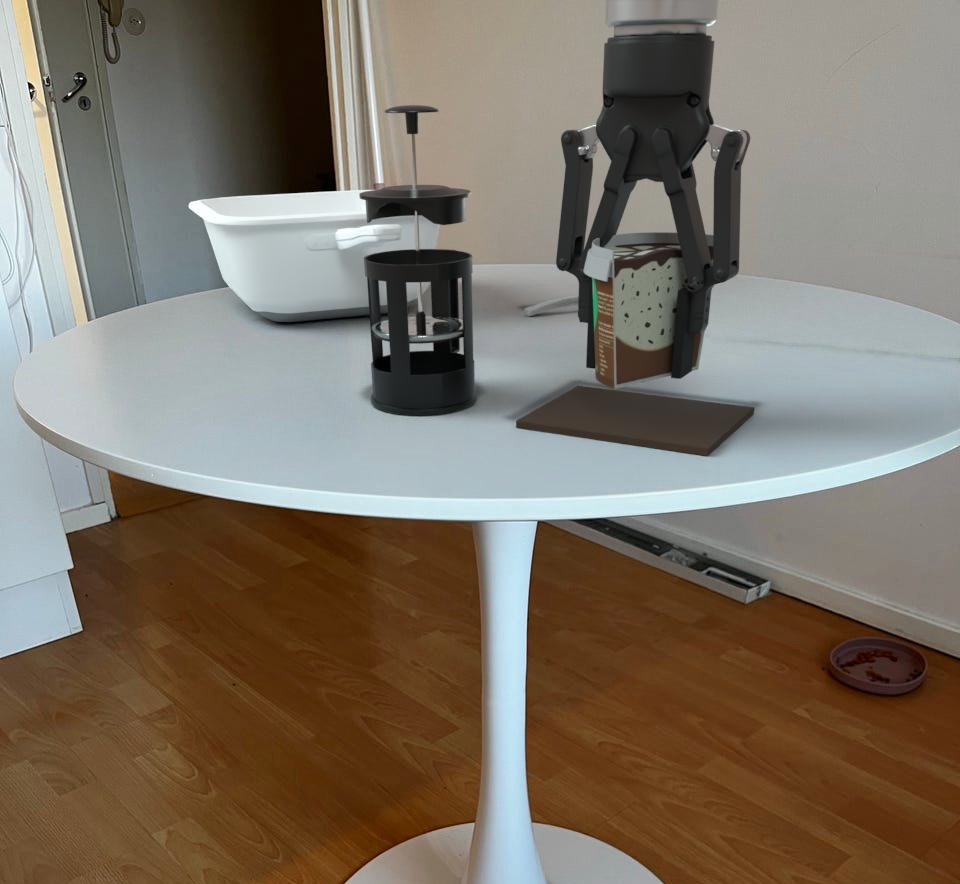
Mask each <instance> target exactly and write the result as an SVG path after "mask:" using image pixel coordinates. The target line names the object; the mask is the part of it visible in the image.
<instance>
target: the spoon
mask: <svg viewBox="0 0 960 884" xmlns="http://www.w3.org/2000/svg"><path fill="white" fill-rule="evenodd" d="M578 297H579V295H572V296H570V295H569V296H563V297H559V298H558V297H557V298H553V299H550V300H546V301H544V302H541V303H537V304H533V305H530V306H528V307H525V308H524V315H525V316H526V317H532V316H533V317H534V316H535V315H538V314H540V313H542V312H546V311H547V310H551V309H554V308H556V307H561V306H565V305H567V304H572V303H579V302H578Z"/></svg>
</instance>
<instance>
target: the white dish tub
mask: <svg viewBox="0 0 960 884" xmlns="http://www.w3.org/2000/svg"><path fill="white" fill-rule="evenodd" d="M372 190H373V189H353V190H350V189H349V190H334V191H332V190H331V191H313V192H312V191H311V192H297V193H293V192H292V193H276V194H256V195H254V194H253V195H238V196H237V195H236V196H224V197H213V198H205V199H198V200H193V201H190V202H189V203H188V209H189V210H191V211H192V212H193V213H194V214H196V215H197V216H198V217H200V218H201V219H202V220H203V223H204V226H205V229H206V232H207V235H208V238H209V241H210V244H211V247H212V250H213V253H214V256H215V259H216V262H217V265H218V268H219V271H220V274H221V277H222V279H223V281H224V282H225V284H226V285H227V286H228V287H229V288H230V289H231V291H232V292H234V293H235V295H237V297H239V298H240V300H242V302H244V303H245V304H246V305H247V306H248V307H249V308H250V309H251V310H252V311H253V312H255V313H256V314H258V315H259V316H260V317H263V318H266V319H268V320H270V321H272V322H277V323H278V322H279V323H296V322H307V321H316V320H317V321H318V320H329V319H339V318H350V317H361V316H370V314H369V299H368V284H367V277H366V276H365V269H364V257H365V256H368V255H370V254H374V253H380V252H386V251H395V250H409V249H416V247H415V224H414V216H396V217H386V218H379V219H374V220H372V221H371V222H370V223H367V217H366V202H365V200H363V199H360V196H359V194H360V193H362V192H366V191H372ZM418 219H419V243H420V249H437V245H438V239H439V234H440V233H439V232H440V228H441V225H439V224H434V223H432V222H431V221H429V220H428V219H426V218H425V217H423V216H422V215H418ZM430 285H431V282H421V290H422V295H424V294H425V292H426V291H427V289H428V287H429V286H430ZM406 286H407V306H408V307H410V306H411V305H413V304H414V303H415V302H417V301H418V292H417V282H406ZM379 297H380V313H381V315H382V314H383V315H384V314H388V308H387V291H386V281H379Z"/></svg>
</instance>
